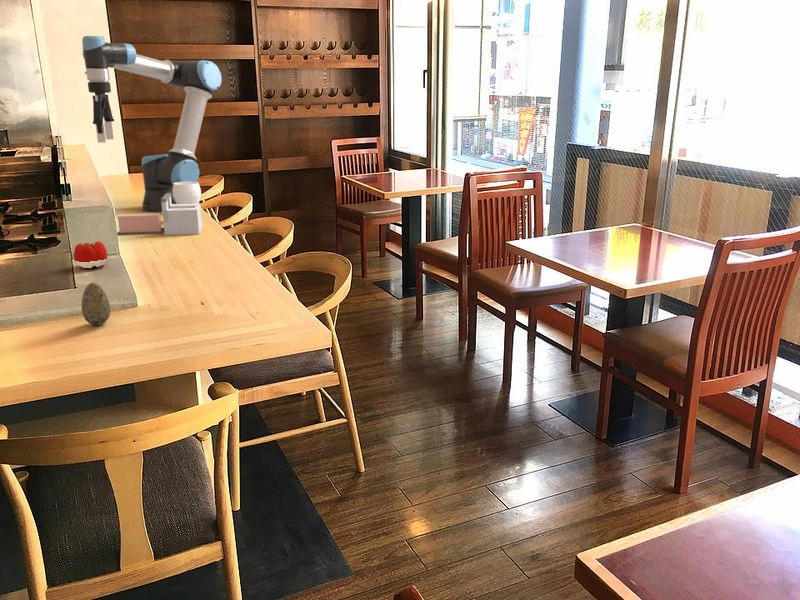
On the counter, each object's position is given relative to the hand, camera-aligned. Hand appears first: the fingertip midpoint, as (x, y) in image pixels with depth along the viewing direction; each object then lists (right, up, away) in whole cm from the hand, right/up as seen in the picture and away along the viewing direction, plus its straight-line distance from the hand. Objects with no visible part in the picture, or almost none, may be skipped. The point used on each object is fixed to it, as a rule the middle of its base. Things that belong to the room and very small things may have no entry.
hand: (106, 141), depth 253 cm
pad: (+15, -34, -3) cm, 37 cm away
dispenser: (+30, -34, -1) cm, 45 cm away
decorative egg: (+40, -65, -97) cm, 124 cm away
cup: (+26, -28, +17) cm, 42 cm away
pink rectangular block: (+15, -34, -4) cm, 37 cm away
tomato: (+18, -50, -50) cm, 73 cm away
